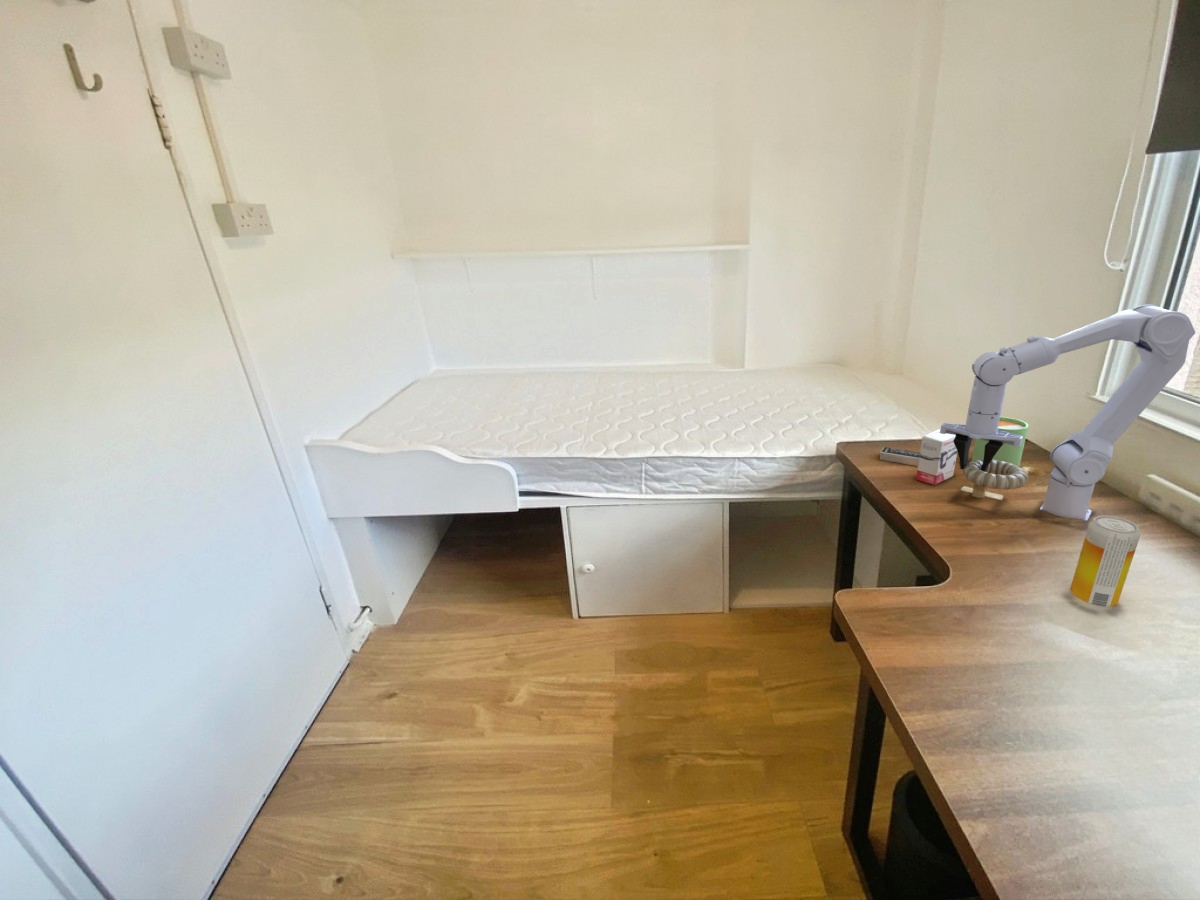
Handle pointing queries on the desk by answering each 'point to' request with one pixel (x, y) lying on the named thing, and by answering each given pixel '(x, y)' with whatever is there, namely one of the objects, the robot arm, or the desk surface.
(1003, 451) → the mug
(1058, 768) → the desk surface
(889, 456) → the multiport hub
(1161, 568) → the desk surface
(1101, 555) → the orange pill bottle
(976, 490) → the stand
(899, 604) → the desk surface
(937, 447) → the ink box
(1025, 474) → the ring
